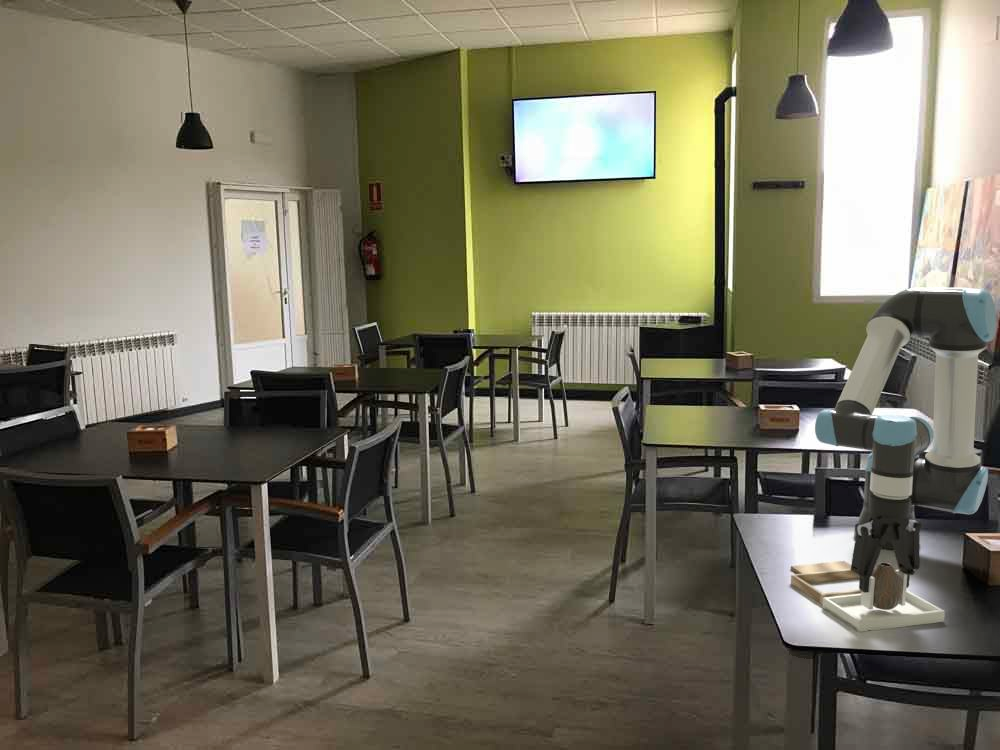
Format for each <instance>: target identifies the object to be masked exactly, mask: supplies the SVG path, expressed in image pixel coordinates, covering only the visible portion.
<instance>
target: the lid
mask: <svg viewBox="0 0 1000 750" xmlns="http://www.w3.org/2000/svg"><path fill="white" fill-rule="evenodd" d="M851 564H852V563H851ZM851 564H850V563H848V562H847V561H846V560H840V561H839V560H838V561H829V562H820V563H809V564H808V563H807V564H800V565H799V564H798V565H791V566H790V570H791V571H792V572H794V573H795V574H803V573H813V572H823V571H833V570H842V569H851Z"/></svg>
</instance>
